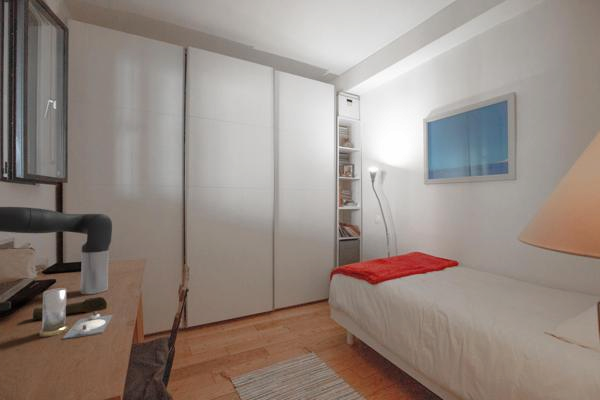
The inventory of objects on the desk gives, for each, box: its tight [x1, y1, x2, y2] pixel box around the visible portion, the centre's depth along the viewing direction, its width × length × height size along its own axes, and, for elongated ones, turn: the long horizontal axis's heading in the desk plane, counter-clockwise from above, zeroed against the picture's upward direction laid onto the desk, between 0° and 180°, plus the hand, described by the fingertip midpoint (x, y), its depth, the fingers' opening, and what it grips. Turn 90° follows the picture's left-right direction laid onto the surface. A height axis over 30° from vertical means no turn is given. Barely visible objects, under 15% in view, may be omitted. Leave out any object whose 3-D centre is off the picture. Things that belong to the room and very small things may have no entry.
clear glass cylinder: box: [39, 287, 69, 338], centre depth 77 cm, size 6×6×12 cm
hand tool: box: [32, 296, 108, 322], centre depth 89 cm, size 19×4×5 cm, turn 119°
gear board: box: [62, 311, 114, 340], centre depth 80 cm, size 13×9×2 cm
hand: (1, 310), depth 72 cm, fingers open, 8 cm apart
